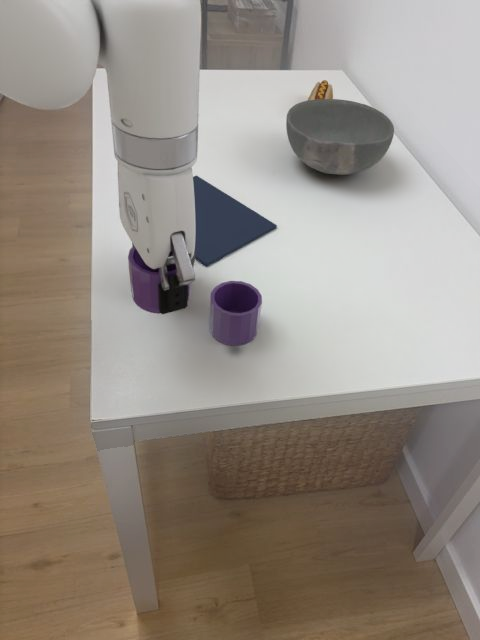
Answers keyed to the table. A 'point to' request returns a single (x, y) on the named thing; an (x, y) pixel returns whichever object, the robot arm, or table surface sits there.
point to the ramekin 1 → (146, 281)
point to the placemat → (223, 223)
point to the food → (321, 91)
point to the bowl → (338, 135)
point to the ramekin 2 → (235, 312)
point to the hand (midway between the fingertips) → (160, 287)
